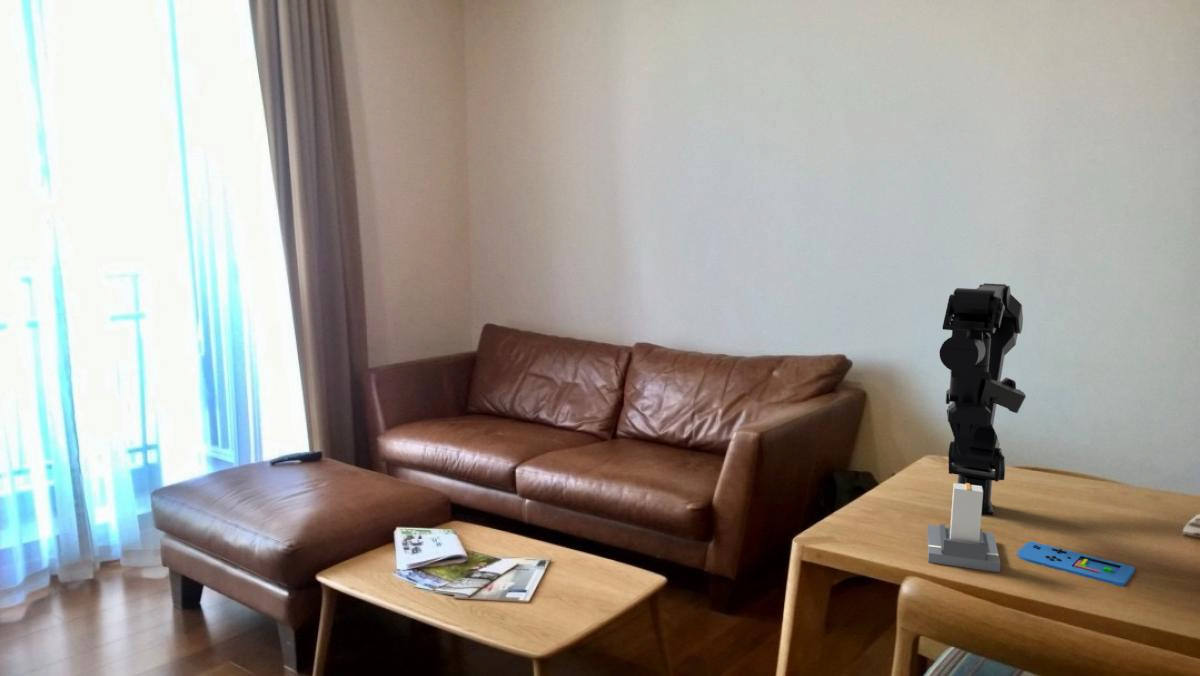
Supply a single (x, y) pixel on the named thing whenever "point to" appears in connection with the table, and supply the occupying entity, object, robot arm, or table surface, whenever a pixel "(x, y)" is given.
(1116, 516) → the table surface
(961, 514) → the grey upright block
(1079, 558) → the handheld gaming device
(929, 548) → the grey socket base
